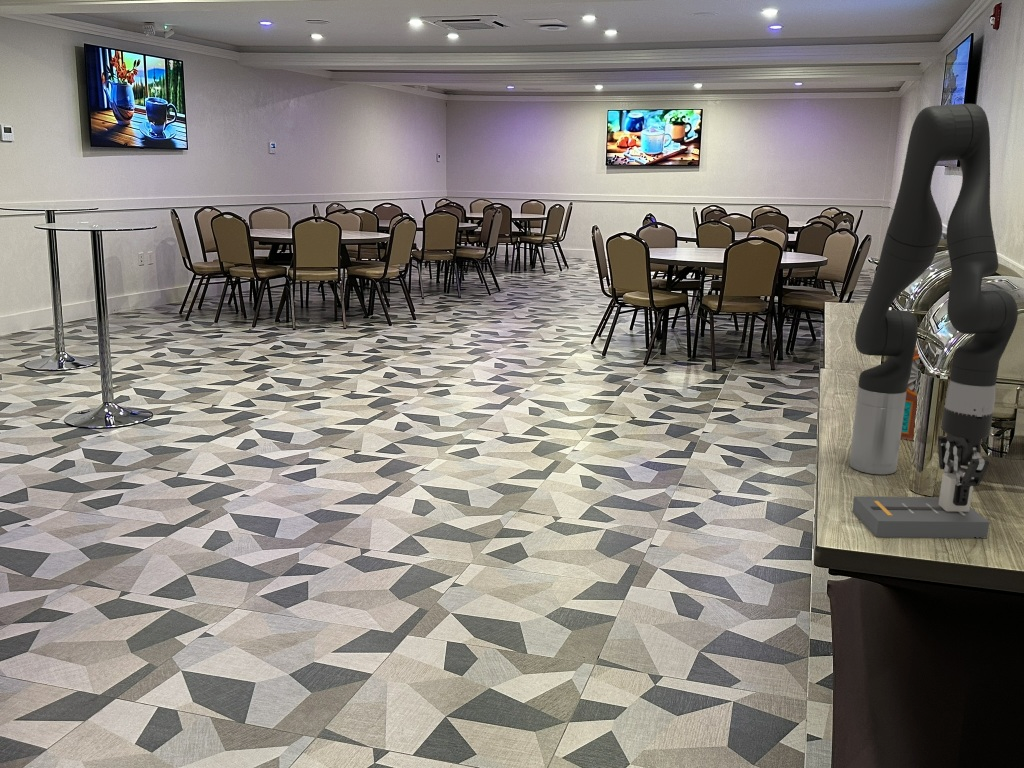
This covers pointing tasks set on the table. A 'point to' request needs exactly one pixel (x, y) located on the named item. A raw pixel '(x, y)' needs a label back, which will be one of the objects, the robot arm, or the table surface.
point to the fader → (951, 494)
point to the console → (917, 518)
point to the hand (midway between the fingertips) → (954, 500)
